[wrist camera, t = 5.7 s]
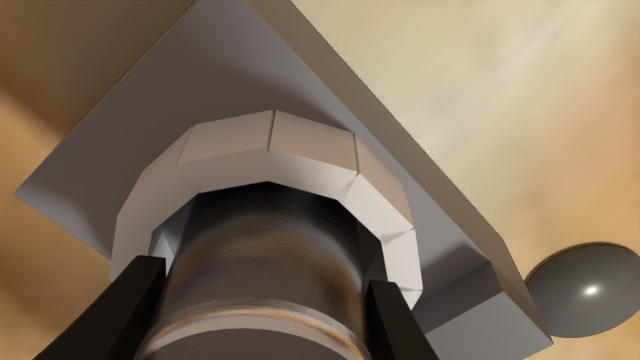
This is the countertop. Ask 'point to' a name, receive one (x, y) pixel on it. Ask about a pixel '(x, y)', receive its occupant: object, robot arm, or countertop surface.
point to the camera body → (282, 169)
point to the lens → (262, 281)
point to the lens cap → (587, 290)
